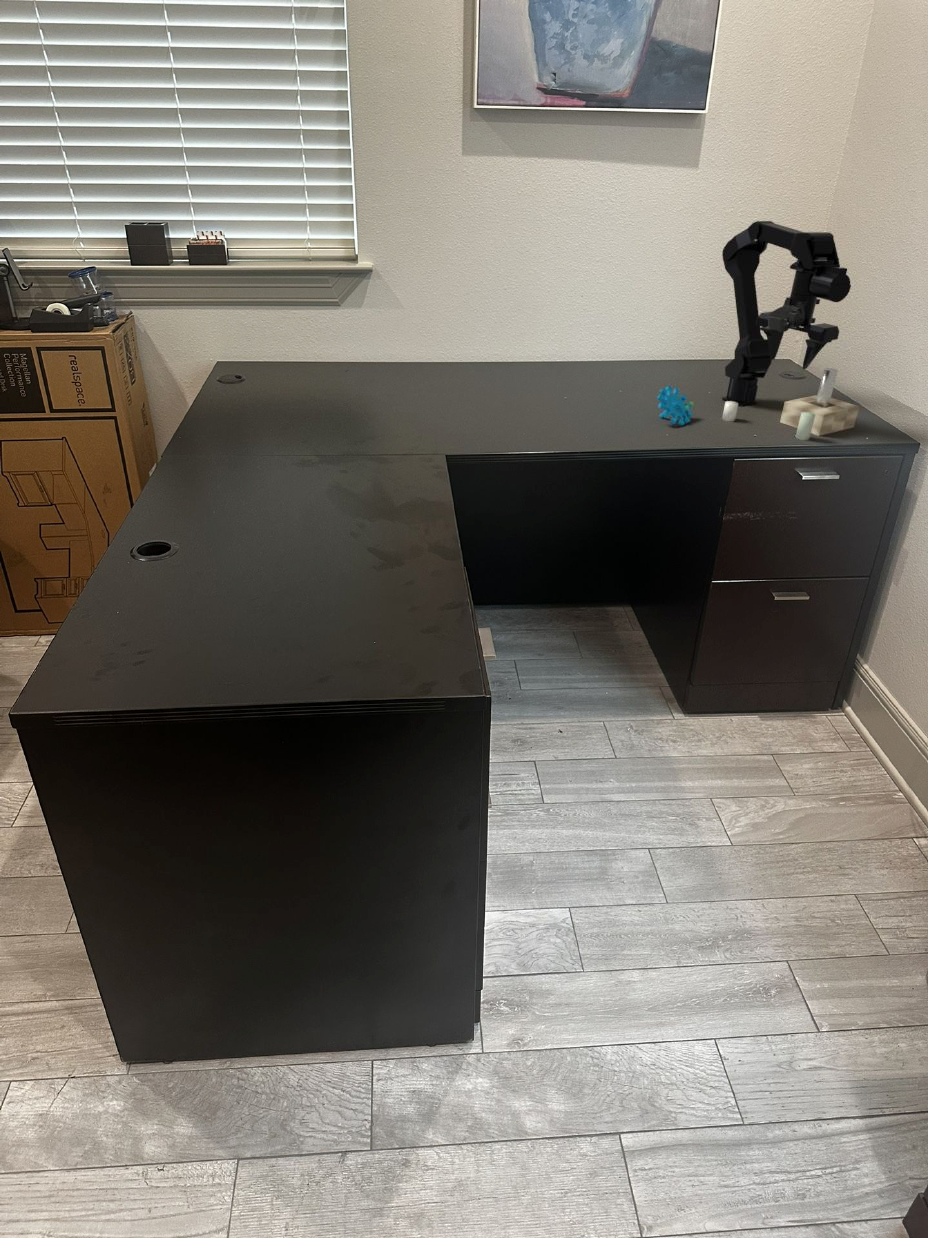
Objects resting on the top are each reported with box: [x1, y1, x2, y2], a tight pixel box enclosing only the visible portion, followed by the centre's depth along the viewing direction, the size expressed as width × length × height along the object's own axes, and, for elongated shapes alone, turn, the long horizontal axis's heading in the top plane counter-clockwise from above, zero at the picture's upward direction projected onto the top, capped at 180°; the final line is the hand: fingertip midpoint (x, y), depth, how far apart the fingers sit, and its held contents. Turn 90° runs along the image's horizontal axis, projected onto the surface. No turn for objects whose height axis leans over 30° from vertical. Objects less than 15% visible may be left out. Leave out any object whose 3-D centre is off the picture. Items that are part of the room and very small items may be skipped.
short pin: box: [721, 400, 739, 423], centre depth 199 cm, size 3×3×4 cm
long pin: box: [815, 367, 839, 408], centre depth 195 cm, size 3×3×13 cm
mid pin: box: [795, 412, 815, 441], centre depth 188 cm, size 3×3×6 cm
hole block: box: [779, 394, 860, 437], centre depth 197 cm, size 11×13×5 cm
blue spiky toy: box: [656, 385, 695, 427], centre depth 197 cm, size 11×6×10 cm
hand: (788, 363), depth 195 cm, fingers open, 9 cm apart
